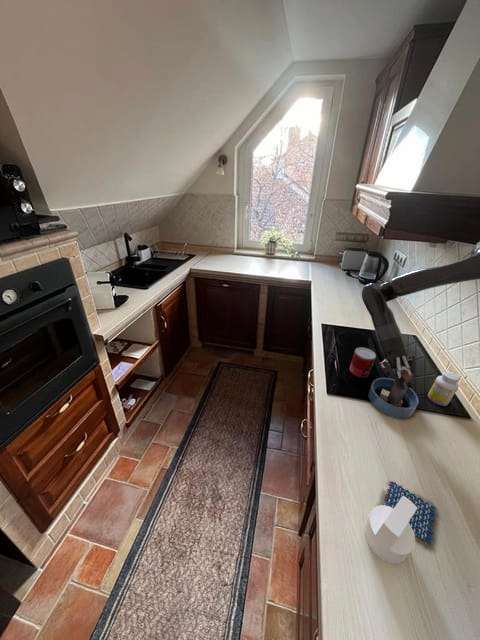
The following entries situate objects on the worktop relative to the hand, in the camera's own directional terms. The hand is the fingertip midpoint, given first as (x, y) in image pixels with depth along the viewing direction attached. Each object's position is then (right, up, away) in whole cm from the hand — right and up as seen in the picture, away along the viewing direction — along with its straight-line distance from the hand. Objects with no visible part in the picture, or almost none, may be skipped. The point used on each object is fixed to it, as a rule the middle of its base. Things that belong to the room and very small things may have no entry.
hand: (406, 388), depth 84 cm
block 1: (-1, -7, +12) cm, 14 cm away
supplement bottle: (+20, -8, +13) cm, 25 cm away
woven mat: (-13, -26, -20) cm, 35 cm away
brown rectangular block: (-1, -6, +6) cm, 8 cm away
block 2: (+2, -9, +10) cm, 13 cm away
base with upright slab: (-22, -29, -25) cm, 44 cm away
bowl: (+1, -8, +11) cm, 14 cm away
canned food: (-4, 0, +25) cm, 26 cm away
